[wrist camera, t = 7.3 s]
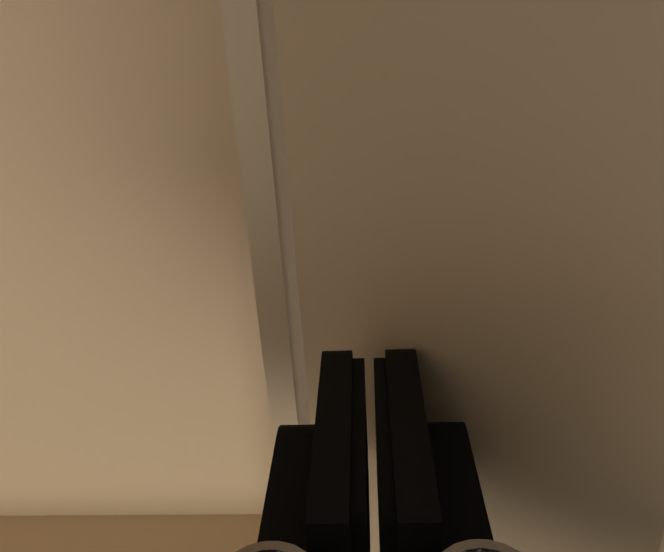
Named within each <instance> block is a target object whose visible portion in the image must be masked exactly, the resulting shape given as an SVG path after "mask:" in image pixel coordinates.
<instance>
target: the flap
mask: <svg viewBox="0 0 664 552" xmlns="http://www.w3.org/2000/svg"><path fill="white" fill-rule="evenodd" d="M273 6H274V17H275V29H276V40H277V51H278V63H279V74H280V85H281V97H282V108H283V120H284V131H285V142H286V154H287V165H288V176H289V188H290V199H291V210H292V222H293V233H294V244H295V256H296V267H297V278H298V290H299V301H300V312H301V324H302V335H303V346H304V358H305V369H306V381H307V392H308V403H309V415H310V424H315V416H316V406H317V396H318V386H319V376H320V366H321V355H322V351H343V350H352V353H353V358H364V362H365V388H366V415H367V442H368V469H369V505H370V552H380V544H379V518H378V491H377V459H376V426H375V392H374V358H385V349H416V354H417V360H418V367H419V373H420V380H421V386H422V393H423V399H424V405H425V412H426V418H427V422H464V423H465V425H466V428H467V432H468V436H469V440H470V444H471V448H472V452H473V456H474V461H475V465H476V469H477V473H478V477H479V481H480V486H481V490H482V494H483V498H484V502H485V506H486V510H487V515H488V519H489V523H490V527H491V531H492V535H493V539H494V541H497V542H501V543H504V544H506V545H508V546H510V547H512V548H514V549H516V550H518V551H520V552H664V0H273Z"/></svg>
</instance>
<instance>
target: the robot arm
mask: <svg viewBox="0 0 664 552" xmlns="http://www.w3.org/2000/svg"><path fill="white" fill-rule="evenodd" d="M374 392H375V426H376V459H377V491H378V518H379V544H380V552H520V551H518V550H516V549H514V548H512V547H510V546H508V545H506V544H504V543H501V542H497V541H494V539H493V535H492V531H491V527H490V523H489V519H488V515H487V510H486V506H485V502H484V498H483V494H482V490H481V486H480V481H479V477H478V473H477V469H476V465H475V461H474V456H473V452H472V448H471V444H470V440H469V436H468V432H467V428H466V425H465V423H464V422H427V418H426V412H425V405H424V399H423V393H422V386H421V380H420V373H419V367H418V360H417V354H416V349H385V358H374ZM236 552H370V505H369V469H368V442H367V415H366V388H365V362H364V358H353V353H352V350H343V351H322V355H321V366H320V376H319V386H318V396H317V406H316V416H315V424H307V425H280V426H279V427H278V430H277V435H276V440H275V446H274V451H273V457H272V463H271V468H270V474H269V479H268V485H267V490H266V496H265V501H264V507H263V513H262V518H261V524H260V529H259V535H258V540H257V543H254V544H250V545H247V546H245V547H243V548H241V549H240V550H238V551H236Z"/></svg>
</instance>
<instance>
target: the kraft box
mask: <svg viewBox="0 0 664 552" xmlns="http://www.w3.org/2000/svg"><path fill="white" fill-rule="evenodd" d="M307 424H310V415H309V403H308V392H307V381H306V369H305V358H304V346H303V335H302V324H301V312H300V301H299V290H298V278H297V267H296V256H295V244H294V233H293V222H292V210H291V199H290V188H289V176H288V165H287V154H286V142H285V131H284V120H283V108H282V97H281V85H280V74H279V63H278V51H277V40H276V29H275V17H274V6H273V0H0V552H236V551H238V550H240V549H241V548H243V547H245V546H247V545H250V544H254V543H257V540H258V535H259V529H260V524H261V518H262V513H263V507H264V501H265V496H266V490H267V485H268V479H269V474H270V468H271V463H272V457H273V451H274V446H275V440H276V435H277V430H278V427H279V426H280V425H307Z"/></svg>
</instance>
